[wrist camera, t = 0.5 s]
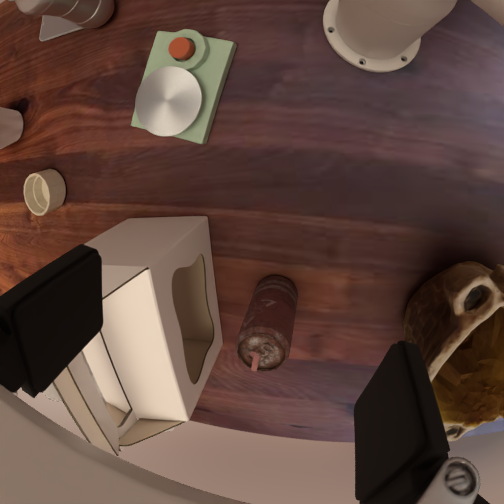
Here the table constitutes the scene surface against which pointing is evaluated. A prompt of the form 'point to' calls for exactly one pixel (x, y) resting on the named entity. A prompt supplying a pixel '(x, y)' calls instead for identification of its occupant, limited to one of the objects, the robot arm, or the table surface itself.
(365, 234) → the table surface
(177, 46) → the button
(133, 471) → the robot arm
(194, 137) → the scale
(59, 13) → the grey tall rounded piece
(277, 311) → the can
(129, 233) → the cardboard gift box
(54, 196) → the bowl
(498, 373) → the ceramic vessel
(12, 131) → the cup
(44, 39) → the smartphone
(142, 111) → the scale plate
